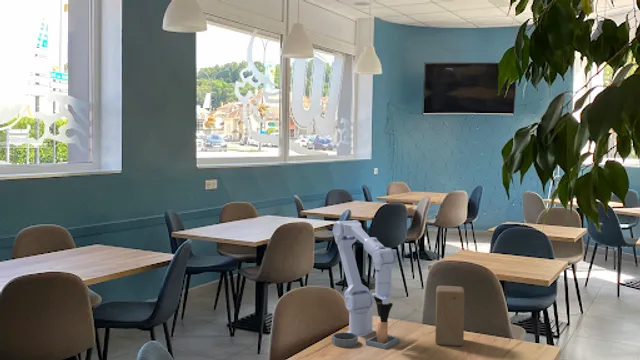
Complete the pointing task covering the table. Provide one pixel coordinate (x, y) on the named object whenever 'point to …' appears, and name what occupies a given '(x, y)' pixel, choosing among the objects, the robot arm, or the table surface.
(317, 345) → the table surface
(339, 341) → the grey round bowl
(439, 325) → the wooden block
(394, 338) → the tray
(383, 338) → the dowel
